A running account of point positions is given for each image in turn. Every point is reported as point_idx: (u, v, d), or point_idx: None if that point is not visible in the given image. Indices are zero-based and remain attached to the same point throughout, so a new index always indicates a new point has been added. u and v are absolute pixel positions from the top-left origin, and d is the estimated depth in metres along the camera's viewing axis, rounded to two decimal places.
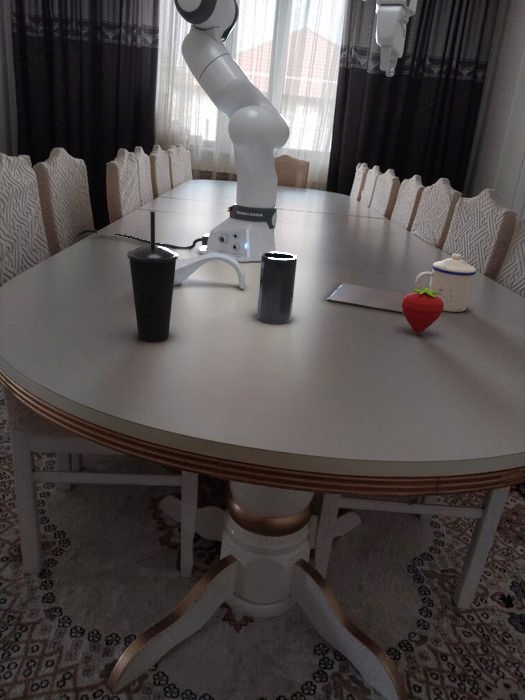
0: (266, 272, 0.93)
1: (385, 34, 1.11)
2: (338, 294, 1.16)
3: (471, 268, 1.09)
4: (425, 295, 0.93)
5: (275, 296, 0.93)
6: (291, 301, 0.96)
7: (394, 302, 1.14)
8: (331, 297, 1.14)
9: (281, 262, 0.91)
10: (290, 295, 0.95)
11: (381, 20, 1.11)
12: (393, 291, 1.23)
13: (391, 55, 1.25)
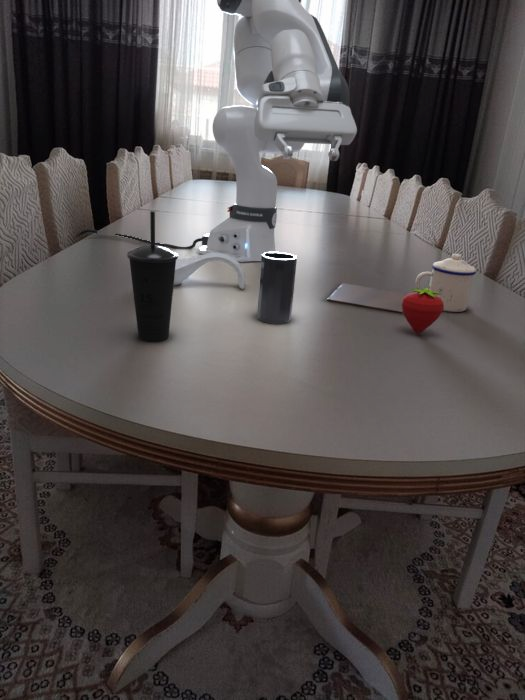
0: (266, 272, 0.93)
1: (256, 128, 0.98)
2: (338, 294, 1.16)
3: (471, 268, 1.09)
4: (425, 295, 0.93)
5: (275, 296, 0.93)
6: (291, 301, 0.96)
7: (394, 302, 1.14)
8: (331, 297, 1.14)
9: (281, 262, 0.91)
10: (290, 295, 0.95)
11: (254, 121, 1.00)
12: (393, 291, 1.23)
13: (332, 140, 1.02)
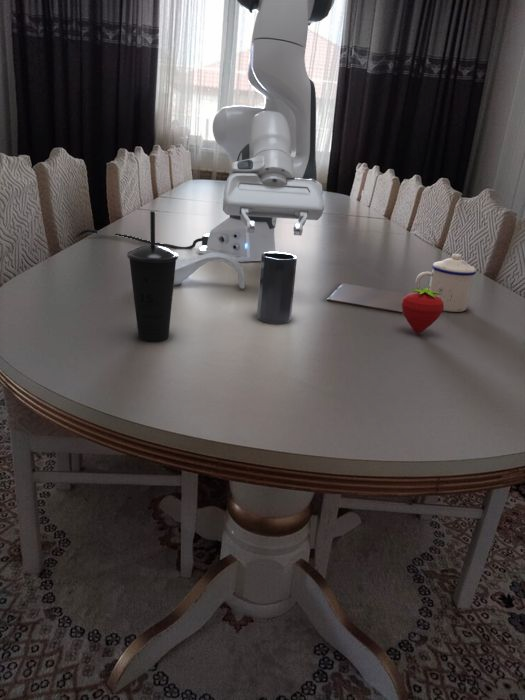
0: (266, 272, 0.93)
1: None
2: (338, 294, 1.16)
3: (471, 268, 1.09)
4: (425, 295, 0.93)
5: (275, 296, 0.93)
6: (291, 301, 0.96)
7: (394, 302, 1.14)
8: (331, 297, 1.14)
9: (281, 262, 0.91)
10: (290, 295, 0.95)
11: None
12: (393, 291, 1.23)
13: (299, 215, 1.04)
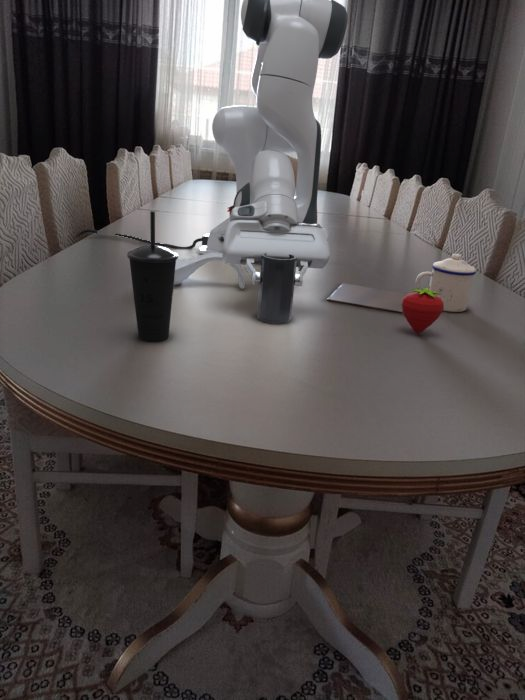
0: (266, 272, 0.93)
1: None
2: (338, 294, 1.16)
3: (471, 268, 1.09)
4: (425, 295, 0.93)
5: (275, 296, 0.93)
6: (291, 301, 0.96)
7: (394, 302, 1.14)
8: (331, 297, 1.14)
9: (281, 262, 0.91)
10: (290, 295, 0.95)
11: None
12: (393, 291, 1.23)
13: (299, 264, 0.98)
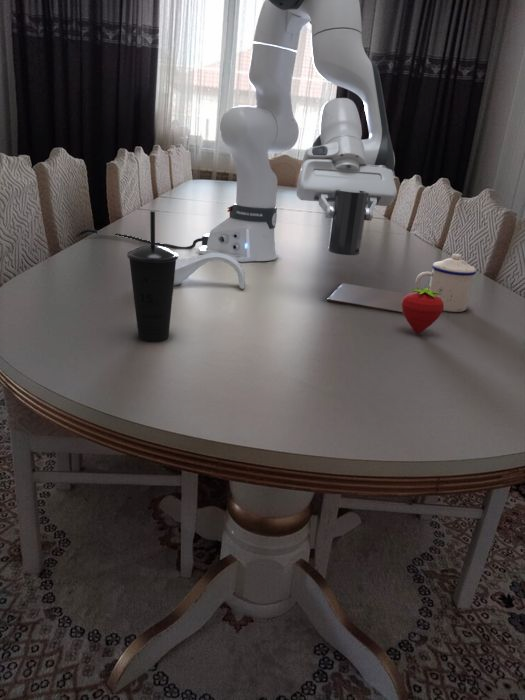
0: (340, 205, 1.00)
1: (298, 188, 1.04)
2: (338, 294, 1.16)
3: (471, 268, 1.09)
4: (425, 295, 0.93)
5: (348, 228, 1.01)
6: (361, 234, 1.03)
7: (394, 302, 1.14)
8: (331, 297, 1.14)
9: (355, 195, 0.99)
10: (361, 228, 1.02)
11: (297, 182, 1.06)
12: (393, 291, 1.23)
13: (368, 201, 1.05)
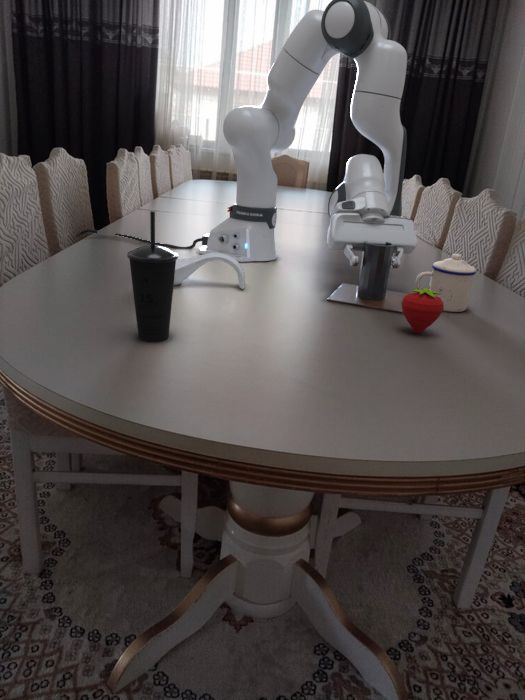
0: (369, 256, 1.11)
1: (329, 239, 1.15)
2: (338, 294, 1.16)
3: (471, 268, 1.09)
4: (425, 295, 0.93)
5: (376, 277, 1.12)
6: (387, 281, 1.14)
7: (394, 302, 1.14)
8: (331, 297, 1.14)
9: (383, 248, 1.10)
10: (387, 276, 1.13)
11: (327, 233, 1.17)
12: (393, 291, 1.23)
13: (395, 250, 1.16)
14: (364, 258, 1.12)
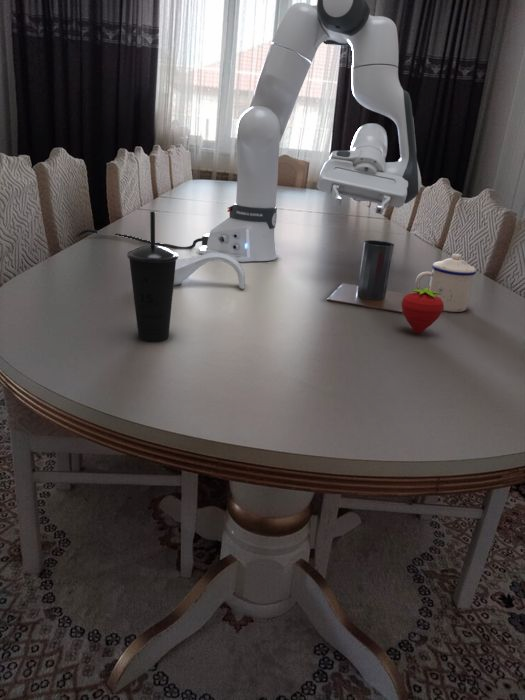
0: (369, 256, 1.11)
1: (318, 180, 1.18)
2: (338, 294, 1.16)
3: (471, 268, 1.09)
4: (425, 295, 0.93)
5: (376, 277, 1.12)
6: (387, 281, 1.14)
7: (394, 302, 1.14)
8: (331, 297, 1.14)
9: (383, 248, 1.10)
10: (387, 276, 1.13)
11: None
12: (393, 291, 1.23)
13: (382, 200, 1.17)
14: (364, 258, 1.12)
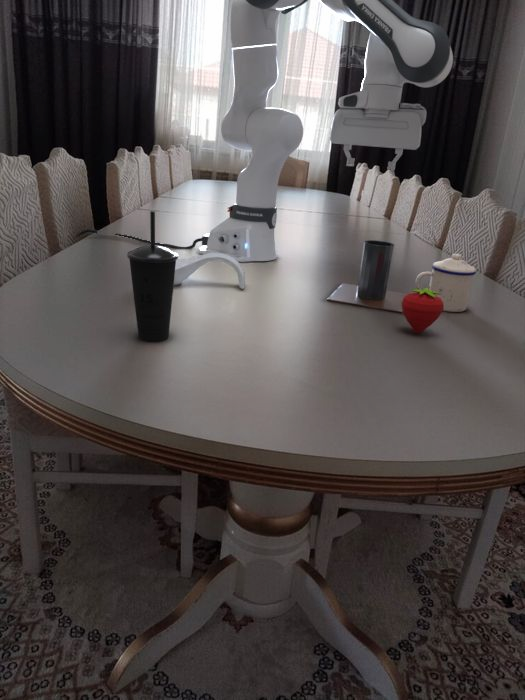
0: (369, 256, 1.11)
1: None
2: (338, 294, 1.16)
3: (471, 268, 1.09)
4: (425, 295, 0.93)
5: (376, 277, 1.12)
6: (387, 281, 1.14)
7: (394, 302, 1.14)
8: (331, 297, 1.14)
9: (383, 248, 1.10)
10: (387, 276, 1.13)
11: None
12: (393, 291, 1.23)
13: None
14: (364, 258, 1.12)
